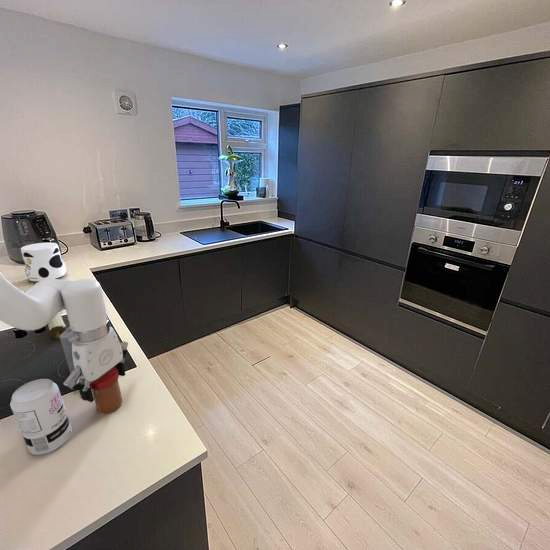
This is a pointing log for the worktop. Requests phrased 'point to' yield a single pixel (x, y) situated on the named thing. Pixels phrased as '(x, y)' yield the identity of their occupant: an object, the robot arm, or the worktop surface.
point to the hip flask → (68, 349)
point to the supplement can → (41, 415)
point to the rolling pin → (56, 326)
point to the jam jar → (108, 398)
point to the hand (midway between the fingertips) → (105, 386)
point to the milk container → (43, 261)
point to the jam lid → (105, 379)
